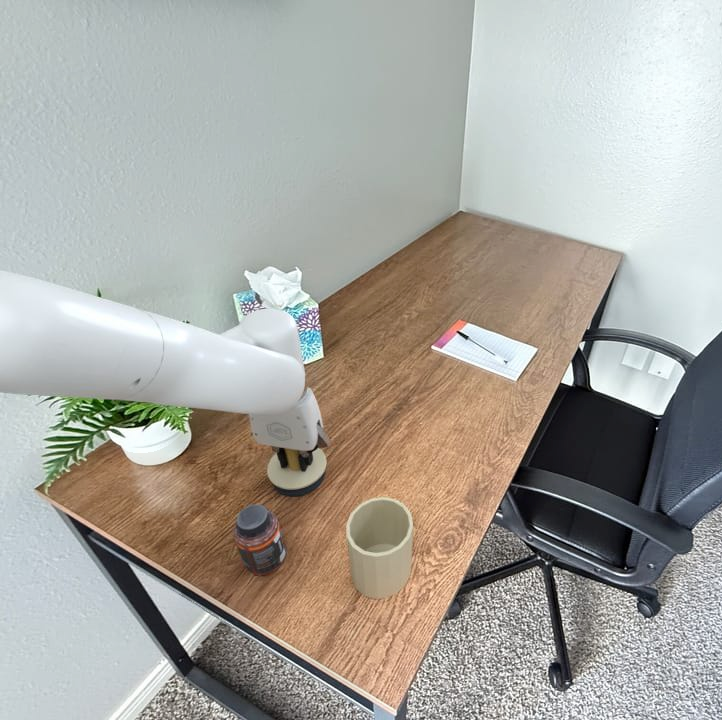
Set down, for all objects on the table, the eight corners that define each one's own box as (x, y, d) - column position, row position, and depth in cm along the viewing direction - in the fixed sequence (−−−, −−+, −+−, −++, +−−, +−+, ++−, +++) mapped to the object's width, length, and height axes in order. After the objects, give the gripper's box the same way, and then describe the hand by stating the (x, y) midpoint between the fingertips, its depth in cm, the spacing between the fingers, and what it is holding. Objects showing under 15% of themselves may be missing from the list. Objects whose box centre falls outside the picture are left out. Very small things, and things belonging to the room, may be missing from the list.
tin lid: (265, 495, 77) (257, 471, 73) (270, 450, 85) (264, 425, 81) (326, 487, 80) (322, 463, 76) (327, 444, 87) (323, 420, 83)
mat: (269, 500, 79) (268, 497, 78) (274, 459, 86) (273, 456, 85) (325, 493, 81) (324, 490, 81) (325, 453, 88) (325, 450, 87)
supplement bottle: (295, 554, 72) (284, 512, 65) (262, 585, 68) (247, 544, 61) (269, 533, 74) (256, 490, 67) (236, 562, 70) (218, 520, 63)
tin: (352, 604, 67) (347, 561, 60) (350, 547, 74) (345, 501, 66) (414, 592, 70) (416, 549, 62) (407, 538, 76) (408, 493, 69)
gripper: (213, 394, 67) (240, 473, 79) (324, 412, 67) (334, 488, 78) (240, 362, 73) (261, 440, 84) (341, 378, 73) (349, 454, 84)
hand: (296, 463), depth 81 cm, fingers closed on tin lid, 2 cm apart
